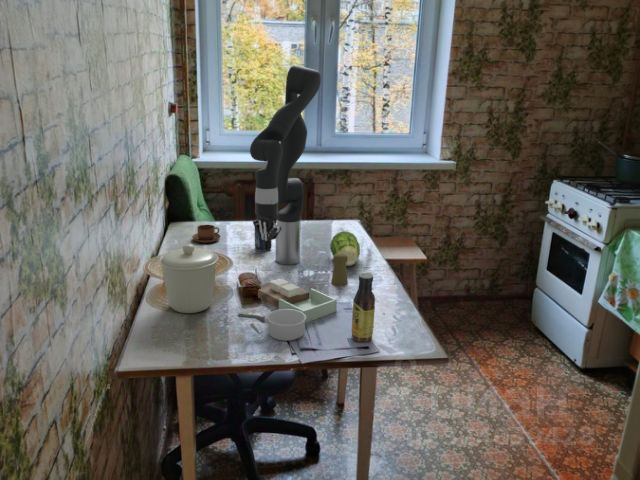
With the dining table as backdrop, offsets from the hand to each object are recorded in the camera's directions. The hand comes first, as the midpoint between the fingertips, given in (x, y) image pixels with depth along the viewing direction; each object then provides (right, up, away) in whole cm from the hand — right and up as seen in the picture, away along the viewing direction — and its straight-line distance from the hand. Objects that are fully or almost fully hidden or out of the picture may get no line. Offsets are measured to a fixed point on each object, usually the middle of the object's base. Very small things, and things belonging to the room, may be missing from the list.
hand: (267, 250), depth 194 cm
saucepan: (+4, -24, -26) cm, 36 cm away
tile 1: (+4, -13, -2) cm, 14 cm away
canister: (-23, -18, -10) cm, 31 cm away
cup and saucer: (-32, +3, +56) cm, 65 cm away
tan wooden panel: (+5, -16, -1) cm, 17 cm away
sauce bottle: (+30, -25, -27) cm, 48 cm away
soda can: (-6, -1, +47) cm, 47 cm away
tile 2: (+8, -14, -5) cm, 17 cm away
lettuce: (+28, -6, +33) cm, 43 cm away
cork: (+25, -12, +13) cm, 31 cm away
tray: (+14, -19, -11) cm, 26 cm away
